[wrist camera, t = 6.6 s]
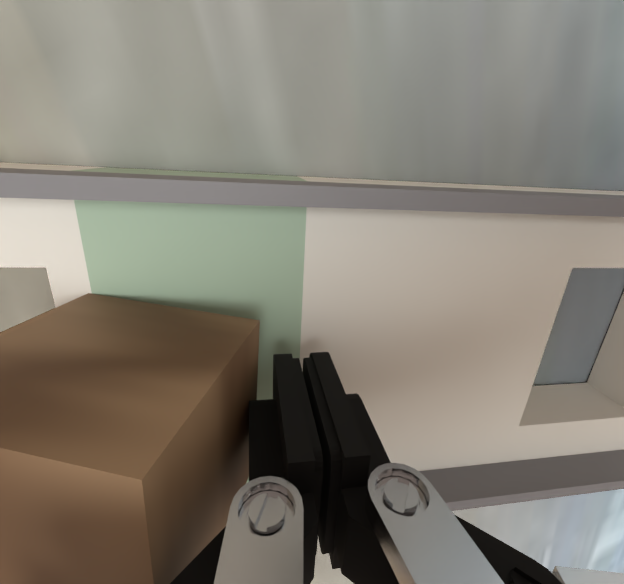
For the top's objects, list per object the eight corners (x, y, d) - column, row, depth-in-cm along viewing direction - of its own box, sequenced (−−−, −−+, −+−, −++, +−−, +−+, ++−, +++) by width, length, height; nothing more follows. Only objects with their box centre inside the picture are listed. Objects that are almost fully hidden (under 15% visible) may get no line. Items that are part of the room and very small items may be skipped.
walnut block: (259, 320, 9) (141, 480, 4) (253, 463, 11) (164, 684, 6) (88, 293, 10) (-172, 408, 5) (109, 432, 12) (-70, 613, 7)
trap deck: (682, 194, 15) (826, 207, 11) (586, 419, 19) (667, 483, 15) (-188, 153, 10) (-461, 153, 6) (-48, 474, 14) (-154, 588, 10)
